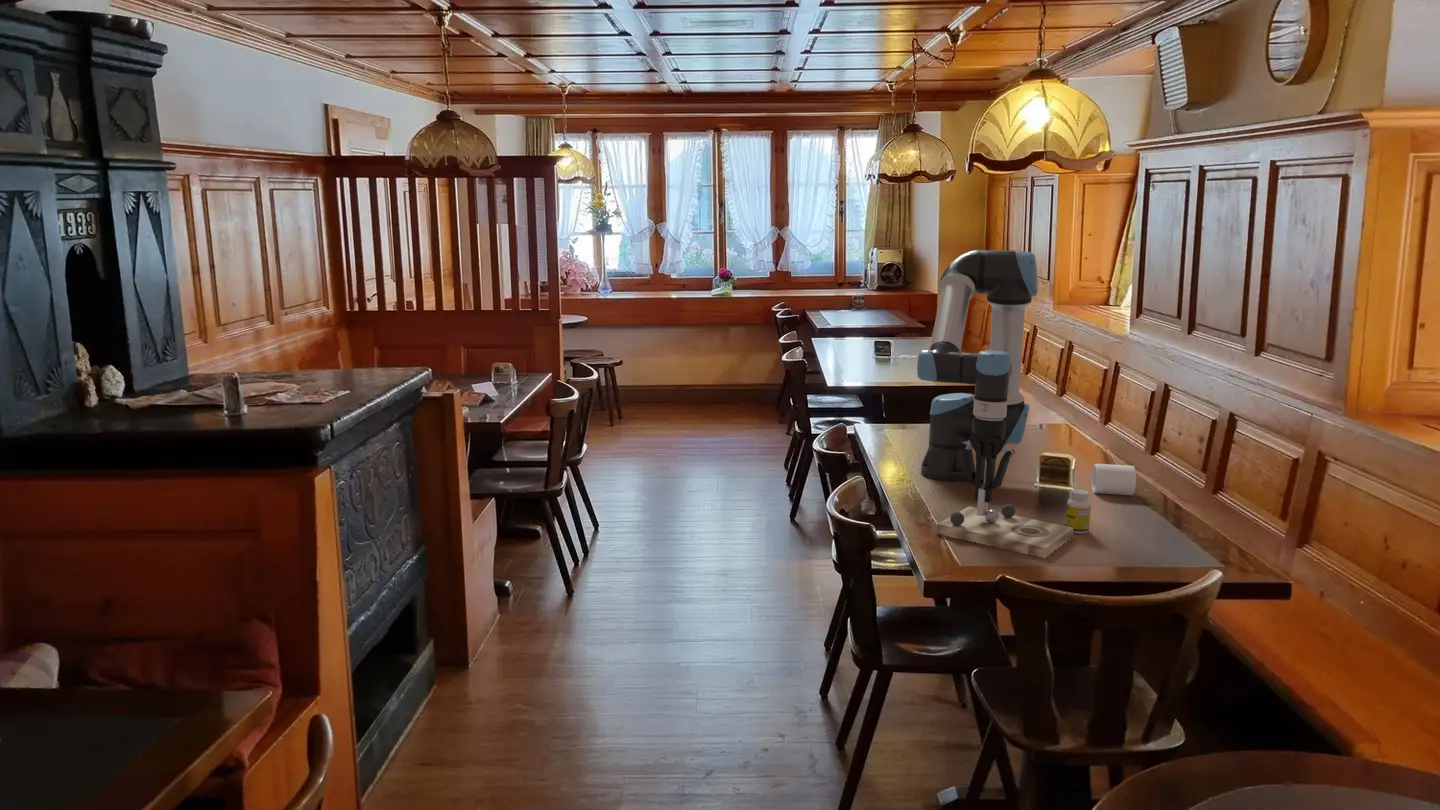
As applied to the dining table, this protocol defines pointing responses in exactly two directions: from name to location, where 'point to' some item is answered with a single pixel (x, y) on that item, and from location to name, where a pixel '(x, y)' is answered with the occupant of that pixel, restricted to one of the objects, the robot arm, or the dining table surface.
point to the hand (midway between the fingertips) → (982, 514)
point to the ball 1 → (957, 518)
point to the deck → (1008, 533)
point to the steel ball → (991, 516)
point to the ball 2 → (1008, 511)
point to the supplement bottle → (1078, 511)
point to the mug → (1113, 479)
